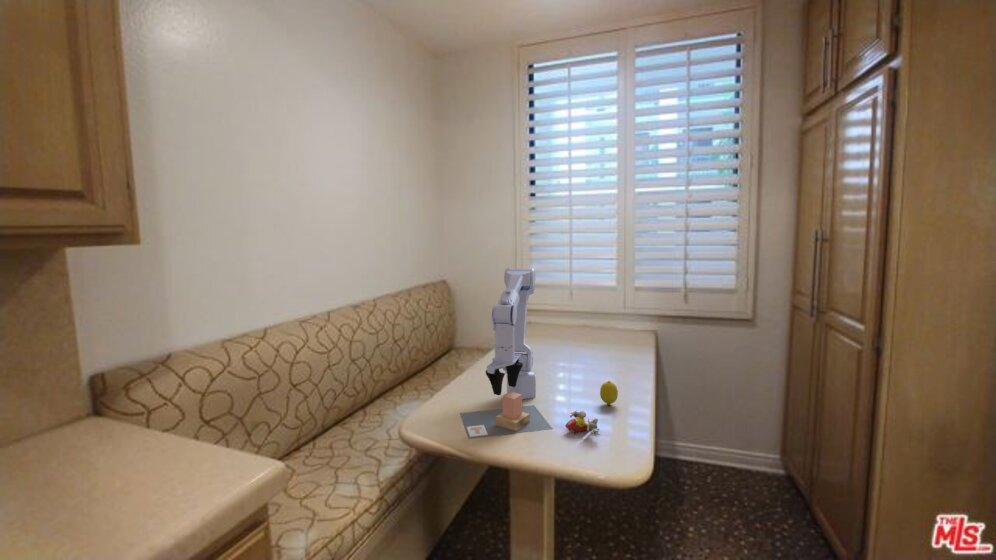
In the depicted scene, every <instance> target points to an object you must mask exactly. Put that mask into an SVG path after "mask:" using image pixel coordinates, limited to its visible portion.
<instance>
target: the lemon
mask: <svg viewBox="0 0 996 560" xmlns="http://www.w3.org/2000/svg"><path fill="white" fill-rule="evenodd" d="M618 394H619V390H618V388H617V385H616V384H615V383H614V382H612V381H610V380H607V381H605V382H604V383H602V384H601V386H600V390H599V395H600V398H601V400H602V402H603V403H605V404H607V406H610V405H611V404H614V403H615V402H616V401H617V400H618V397H619V395H618Z"/></svg>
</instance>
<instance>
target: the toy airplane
mask: <svg viewBox="0 0 996 560" xmlns="http://www.w3.org/2000/svg"><path fill="white" fill-rule="evenodd" d="M586 416H587V413H586V411H584V410H580V411H577V409H576V410H575V411H571V412H570V415H569V418H572V417H574V418H573V419H570V420H568V421H567V422H566V424H565V428H566V429H568V431H570V432H571V433H572V434H573V435H578V434H579V433H578V432H583V431H587V432H589V431H592V432H594V433H599V431H600V428H599V427H598V422H599V419H598V418H592V420H591V421H589V420H590V419H589V418H588V420H586V419H585V418H586Z"/></svg>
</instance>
